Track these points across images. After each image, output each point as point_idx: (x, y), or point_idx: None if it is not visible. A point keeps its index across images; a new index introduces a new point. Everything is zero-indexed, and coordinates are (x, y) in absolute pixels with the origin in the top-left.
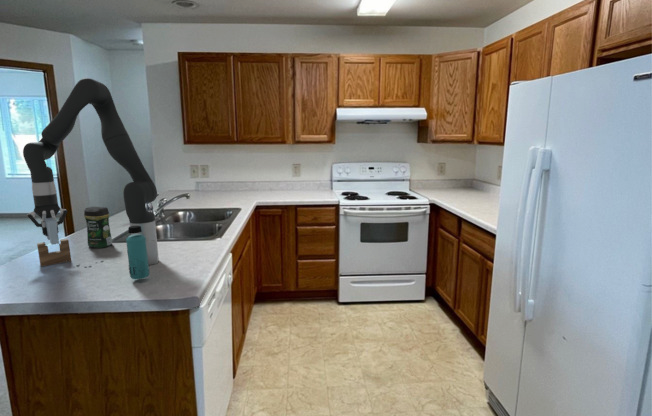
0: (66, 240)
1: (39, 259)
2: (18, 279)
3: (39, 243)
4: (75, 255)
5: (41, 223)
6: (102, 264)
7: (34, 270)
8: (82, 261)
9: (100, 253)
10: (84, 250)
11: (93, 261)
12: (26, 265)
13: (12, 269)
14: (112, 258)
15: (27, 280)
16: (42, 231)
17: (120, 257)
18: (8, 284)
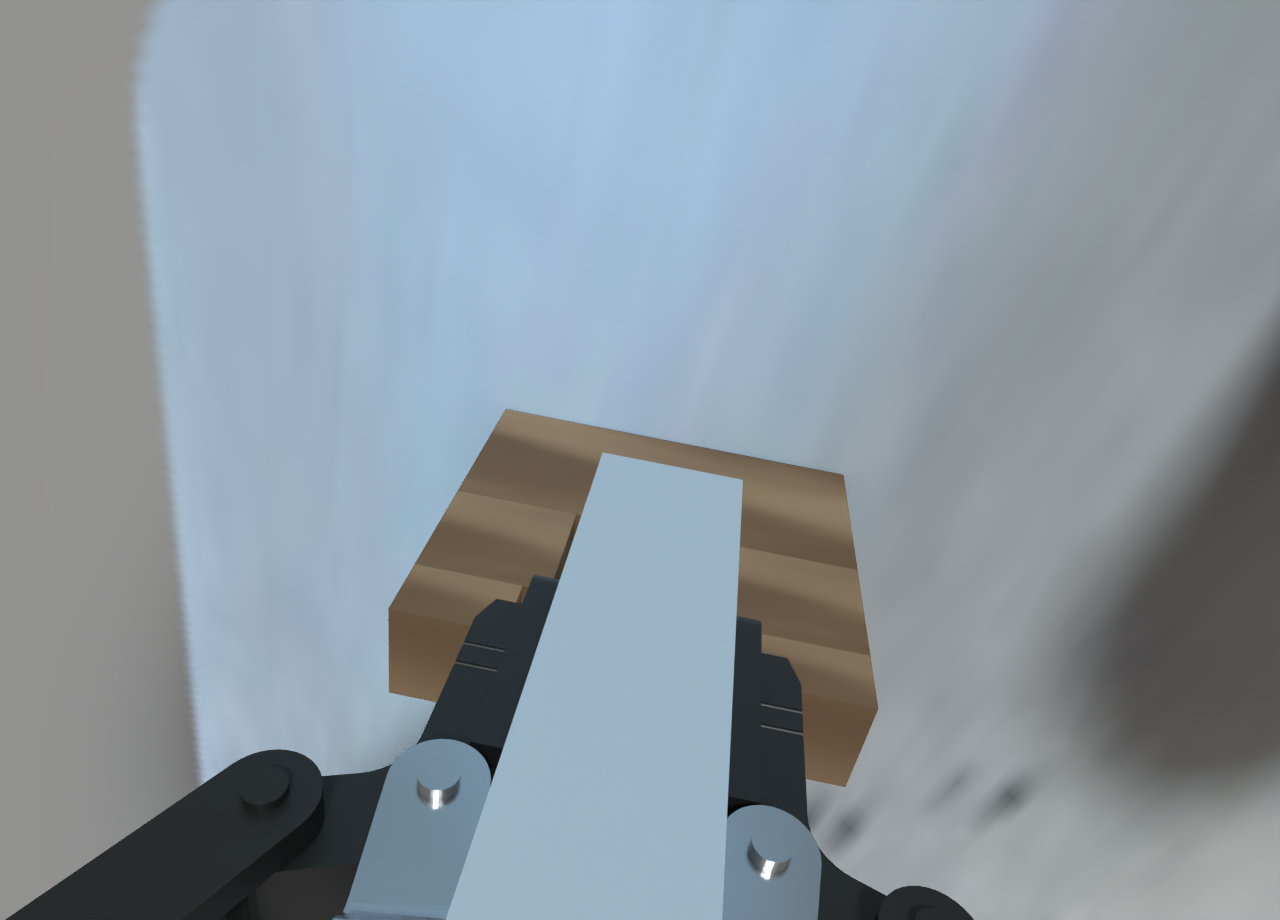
0: (813, 775)
1: (482, 450)
2: (280, 670)
3: (421, 646)
4: (992, 345)
5: (374, 858)
6: (945, 861)
7: (422, 545)
8: (888, 653)
9: (1239, 538)
10: (1271, 162)
11: (957, 737)
12: (369, 274)
13: (222, 310)
14: (1138, 798)
15: (342, 743)
16: (455, 674)
17: (1207, 831)
18: (214, 716)
